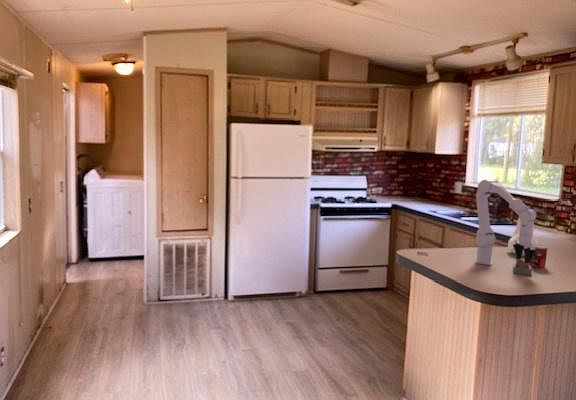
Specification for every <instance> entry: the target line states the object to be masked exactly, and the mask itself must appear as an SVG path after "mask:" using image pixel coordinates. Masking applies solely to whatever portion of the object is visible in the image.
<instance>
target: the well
mask: <svg viewBox="0 0 576 400" xmlns="http://www.w3.org/2000/svg"><path fill="white" fill-rule="evenodd" d="M532 271H533V270H532V267H531V266H529V264H528V268H520V267H516V263H512V274H514V275H524V276H529V277H531V276H532Z"/></svg>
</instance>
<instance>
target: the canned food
mask: <svg viewBox="0 0 576 400" xmlns="http://www.w3.org/2000/svg"><path fill="white" fill-rule="evenodd" d="M534 246H535V250H536V252H535V253H534V254H533V256H532V258H531V261H530V263H528V265H529V266H531V268H535V269H545V267H546V262H547V256H548V255H547V253H548V247H547V245H541V244H538V245H535V244H534Z"/></svg>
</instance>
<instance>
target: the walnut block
mask: <svg viewBox="0 0 576 400" xmlns="http://www.w3.org/2000/svg"><path fill="white" fill-rule="evenodd" d="M515 261H516V262H515V264H516V267H520V268H528V265H529V263H525V258H521V259H516V260H515Z"/></svg>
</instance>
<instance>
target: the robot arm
mask: <svg viewBox="0 0 576 400" xmlns="http://www.w3.org/2000/svg"><path fill="white" fill-rule="evenodd" d="M492 194H497V195H499V196H500V197H501V198H503V200H505V201H506V202H508V205H509V208H510V209H512V211H514V212H515V213H516V214H517V215H518V219H519V218H520V220H521V224H520V233H519V239H515V243H516V244H513V247H514V249H515V253H516V254H515V253H514V254H515V258H516V259H522V252H523V250H524V254H525V256H524V259H525V263H528V264H529V263H530V261H531V258H532V256H533V254H534V253H535V252H536V250H535V246H534V245H533V244H532V243H531V241H532V232H533V223H534V224H535V222H534V221H535V220H536V218H537V211H535V209H533V208H530V207H529V206H527V205H526V204H525V203H524V202H523V200H522V199H520V198H515V197H514V196H513V195H512V194H511V193H510V192H509V191H508V190H507V189H506V188H505V187H504V186H503V184H502V183H501V182H499V181H498V180H497V179H482V180H481V181H480V182H479V183H478V184H477V191H476V195H475V199H476V208H477V219H478V230H477V231H476V237H475V243H476V244H477V245H476V246H477V251H476V258H475V262H474V263H475V264H480V265H487V266H492V265H493V263H492V254H493V247H494V244H495V243H496V240H497V238H496V236H495V232H494V230H493V229H492V228H491V221H490V211H489V201H488V198H489V197H490V196H491V195H492ZM533 233H534V232H533ZM524 247H527V248H524Z"/></svg>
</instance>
